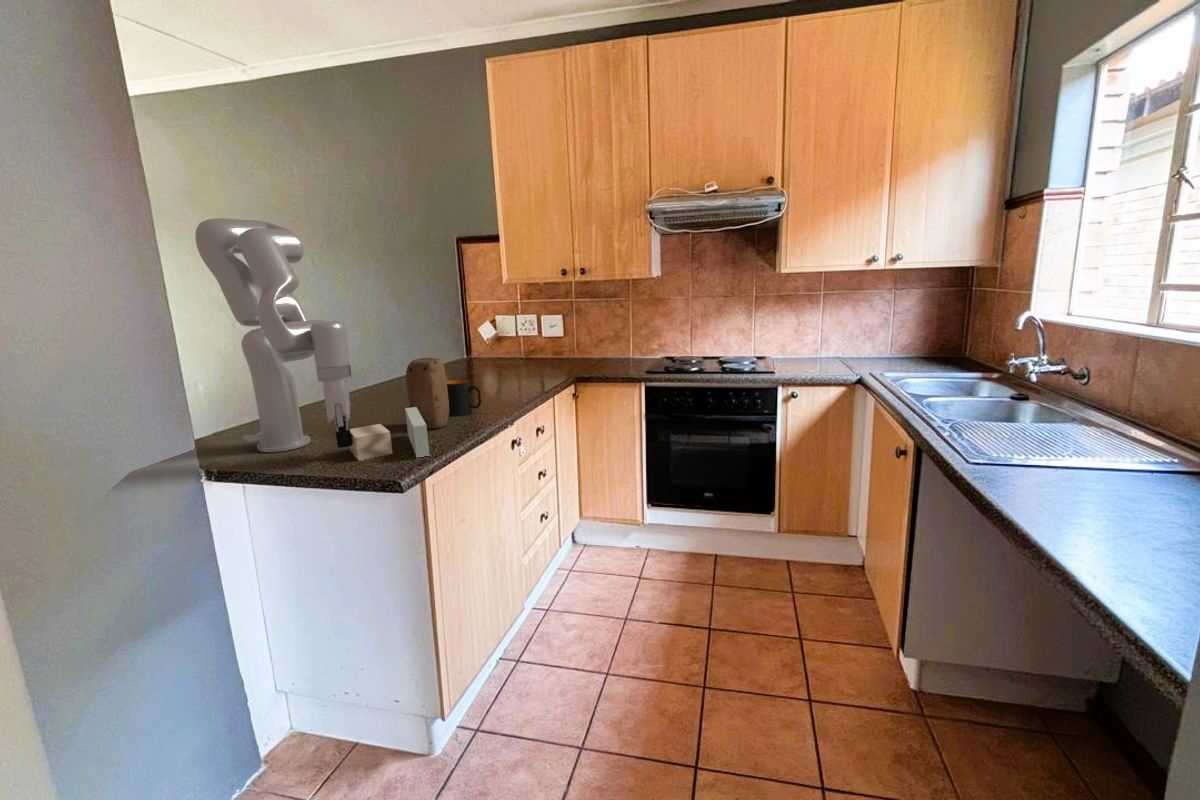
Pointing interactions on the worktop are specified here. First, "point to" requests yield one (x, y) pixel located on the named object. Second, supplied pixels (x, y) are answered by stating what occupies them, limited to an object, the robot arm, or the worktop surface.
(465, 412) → the mug
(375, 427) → the beech block
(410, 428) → the sage board
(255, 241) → the robot arm
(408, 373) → the brown rounded tall lump
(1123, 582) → the worktop surface
